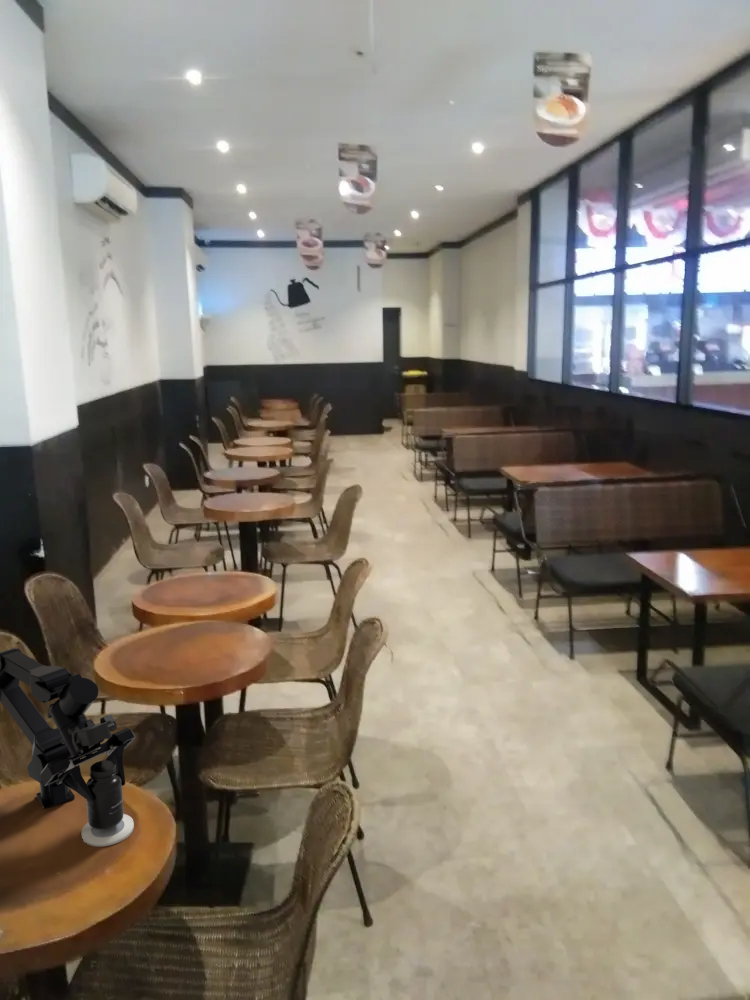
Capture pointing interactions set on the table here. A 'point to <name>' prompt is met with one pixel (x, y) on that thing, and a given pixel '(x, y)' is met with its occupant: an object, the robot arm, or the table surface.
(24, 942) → the table surface
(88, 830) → the coaster
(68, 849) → the table surface
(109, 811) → the supplement bottle
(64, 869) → the table surface
